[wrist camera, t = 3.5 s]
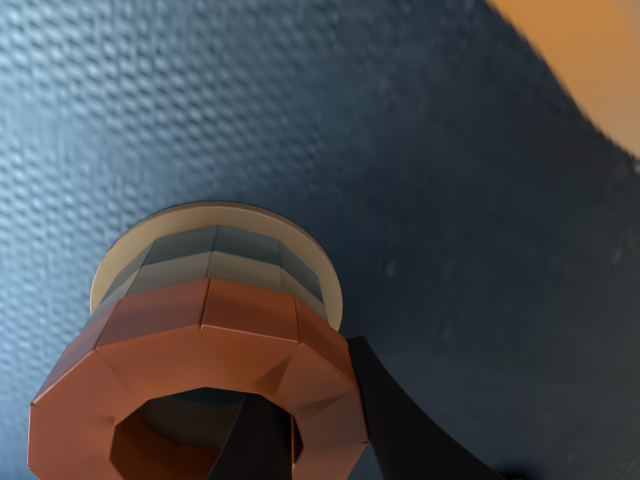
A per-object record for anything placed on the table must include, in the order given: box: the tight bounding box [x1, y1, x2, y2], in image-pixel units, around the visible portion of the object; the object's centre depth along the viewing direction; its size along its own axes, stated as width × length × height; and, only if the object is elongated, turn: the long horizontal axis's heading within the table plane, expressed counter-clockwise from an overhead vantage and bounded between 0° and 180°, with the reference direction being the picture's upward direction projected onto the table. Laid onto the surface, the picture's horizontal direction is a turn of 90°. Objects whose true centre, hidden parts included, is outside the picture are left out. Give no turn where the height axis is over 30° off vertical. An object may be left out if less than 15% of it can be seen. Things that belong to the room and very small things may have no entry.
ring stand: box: [80, 201, 343, 449], centre depth 15 cm, size 10×10×5 cm
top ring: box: [27, 277, 369, 480], centre depth 12 cm, size 9×9×2 cm
